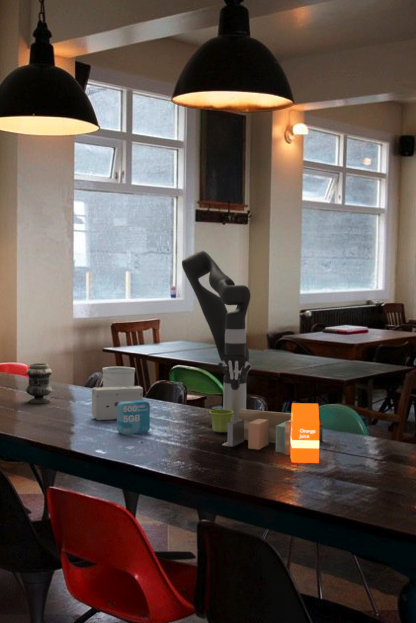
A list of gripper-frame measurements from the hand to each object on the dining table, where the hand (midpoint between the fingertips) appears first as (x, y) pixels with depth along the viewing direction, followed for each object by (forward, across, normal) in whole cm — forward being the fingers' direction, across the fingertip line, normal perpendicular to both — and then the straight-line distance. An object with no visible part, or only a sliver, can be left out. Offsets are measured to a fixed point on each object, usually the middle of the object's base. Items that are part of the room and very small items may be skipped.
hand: (235, 389), depth 301 cm
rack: (+21, +11, 0) cm, 23 cm away
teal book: (+20, +20, -2) cm, 28 cm away
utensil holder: (+21, -79, +57) cm, 100 cm away
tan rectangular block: (+19, +10, -2) cm, 22 cm away
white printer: (+21, -65, +30) cm, 74 cm away
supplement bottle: (+21, +25, +16) cm, 36 cm away
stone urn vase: (+21, -119, +51) cm, 131 cm away
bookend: (+19, +1, -1) cm, 19 cm away
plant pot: (+21, -13, +19) cm, 31 cm away
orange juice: (+21, +30, -14) cm, 39 cm away
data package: (+21, -45, +7) cm, 50 cm away
